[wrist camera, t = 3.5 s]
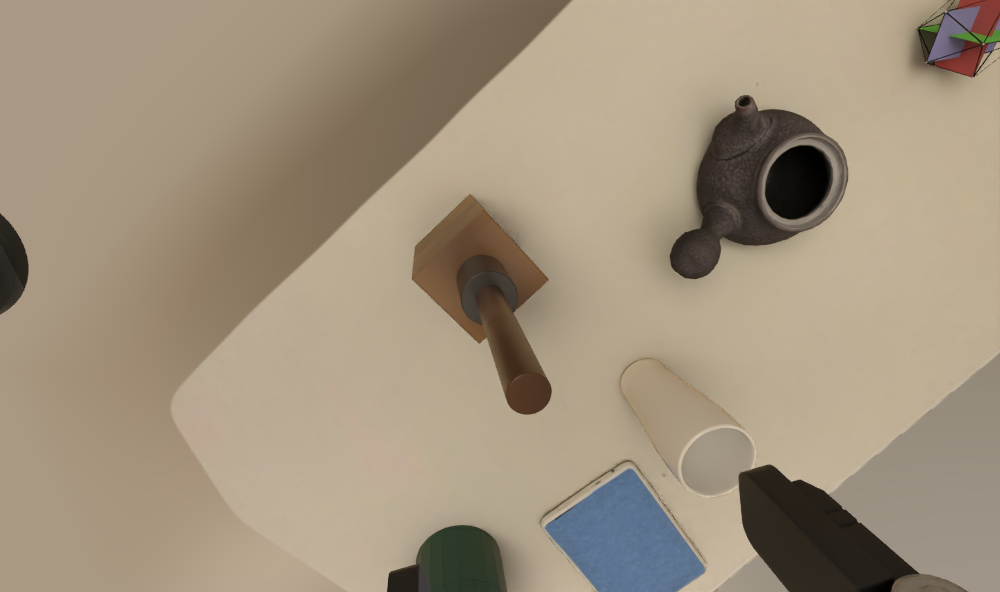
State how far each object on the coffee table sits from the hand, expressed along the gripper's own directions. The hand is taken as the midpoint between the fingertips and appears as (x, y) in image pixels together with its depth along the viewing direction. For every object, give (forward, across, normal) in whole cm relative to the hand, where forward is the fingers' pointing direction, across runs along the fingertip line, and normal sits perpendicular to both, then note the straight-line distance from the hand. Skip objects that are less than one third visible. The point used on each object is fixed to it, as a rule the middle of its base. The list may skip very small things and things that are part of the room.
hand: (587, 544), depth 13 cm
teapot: (+38, -25, 0) cm, 45 cm away
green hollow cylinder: (+38, +9, +34) cm, 52 cm away
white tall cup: (+38, -15, +18) cm, 45 cm away
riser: (+38, 0, 0) cm, 38 cm away
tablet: (+38, -10, +38) cm, 55 cm away
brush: (+26, 0, 0) cm, 26 cm away
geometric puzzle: (+38, -48, -9) cm, 62 cm away
